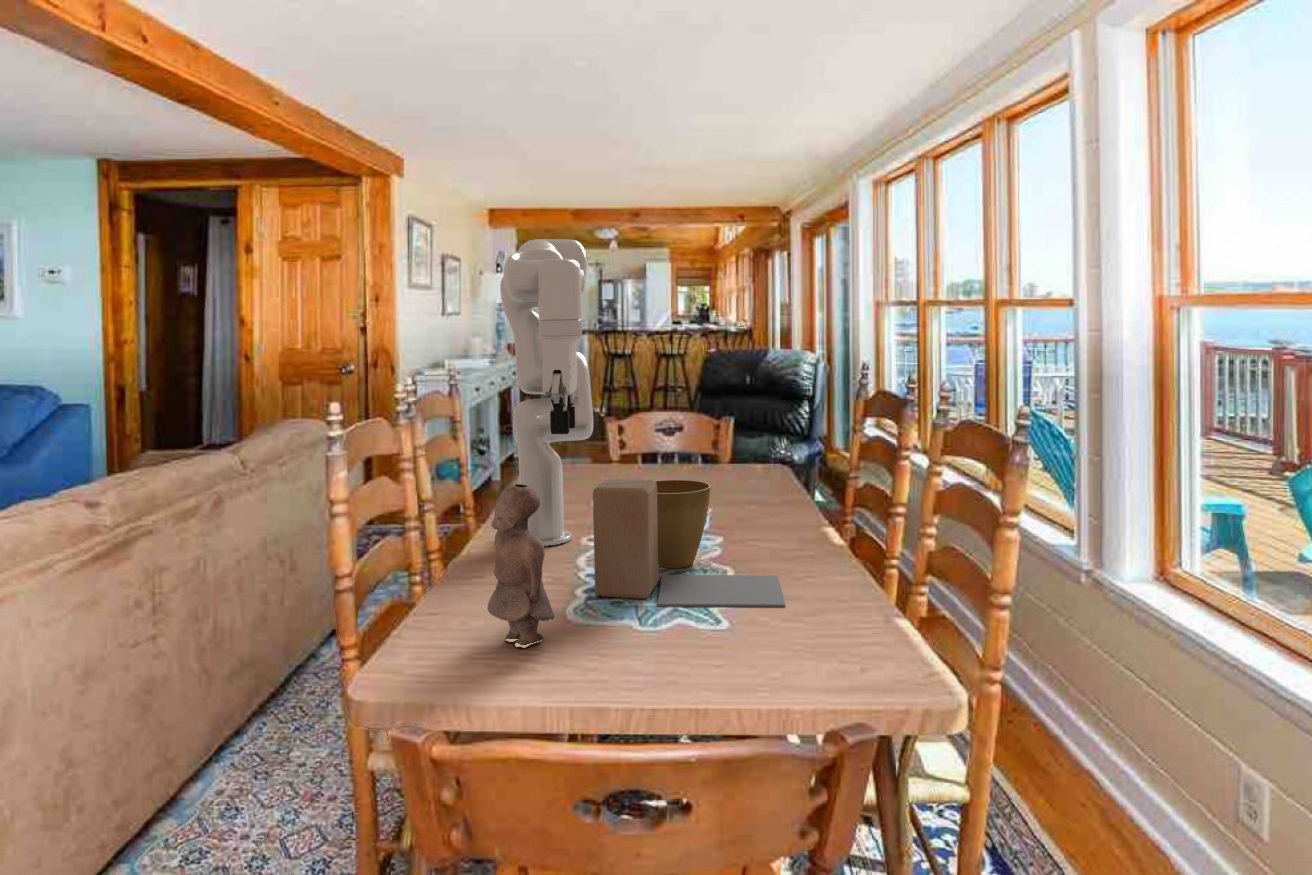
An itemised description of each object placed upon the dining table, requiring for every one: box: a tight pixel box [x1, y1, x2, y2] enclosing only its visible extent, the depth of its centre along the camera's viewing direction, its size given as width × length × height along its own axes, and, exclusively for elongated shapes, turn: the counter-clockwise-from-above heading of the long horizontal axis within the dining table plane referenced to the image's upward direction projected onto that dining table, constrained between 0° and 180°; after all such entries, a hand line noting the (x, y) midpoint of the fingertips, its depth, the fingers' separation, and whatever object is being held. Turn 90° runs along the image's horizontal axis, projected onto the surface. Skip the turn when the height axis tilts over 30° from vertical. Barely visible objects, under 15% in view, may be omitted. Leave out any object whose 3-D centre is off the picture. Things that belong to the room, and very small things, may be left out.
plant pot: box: [654, 479, 712, 569], centre depth 181 cm, size 15×15×16 cm
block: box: [592, 478, 659, 600], centre depth 164 cm, size 10×10×20 cm
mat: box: [657, 574, 786, 608], centre depth 164 cm, size 22×17×1 cm
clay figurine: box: [486, 483, 555, 645], centre depth 138 cm, size 13×10×25 cm
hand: (563, 430), depth 161 cm, fingers open, 6 cm apart
